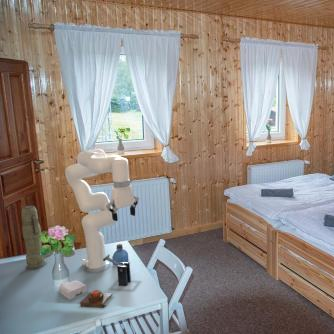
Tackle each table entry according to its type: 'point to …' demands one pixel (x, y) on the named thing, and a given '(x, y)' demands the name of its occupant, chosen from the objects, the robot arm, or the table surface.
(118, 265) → the lever
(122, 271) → the tap bracket
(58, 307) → the table surface
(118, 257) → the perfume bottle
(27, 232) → the stone head statue
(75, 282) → the pale pink block
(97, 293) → the button
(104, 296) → the button block
